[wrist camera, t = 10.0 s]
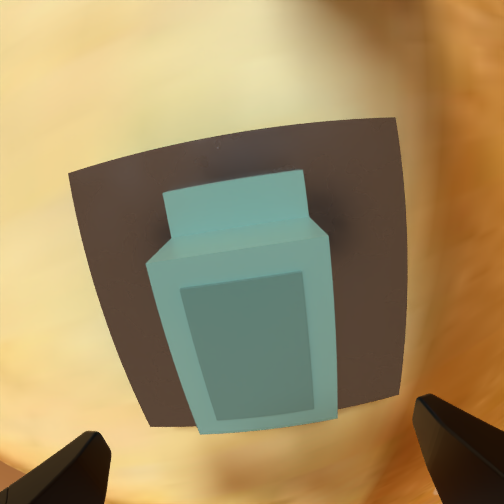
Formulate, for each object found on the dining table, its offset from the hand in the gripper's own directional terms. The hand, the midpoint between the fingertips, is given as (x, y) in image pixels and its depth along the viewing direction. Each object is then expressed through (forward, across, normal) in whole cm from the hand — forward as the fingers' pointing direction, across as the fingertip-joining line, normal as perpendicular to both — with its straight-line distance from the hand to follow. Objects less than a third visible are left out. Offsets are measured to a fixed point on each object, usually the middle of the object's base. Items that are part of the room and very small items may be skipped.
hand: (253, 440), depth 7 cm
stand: (+12, 0, 0) cm, 12 cm away
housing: (+8, 0, 0) cm, 9 cm away
